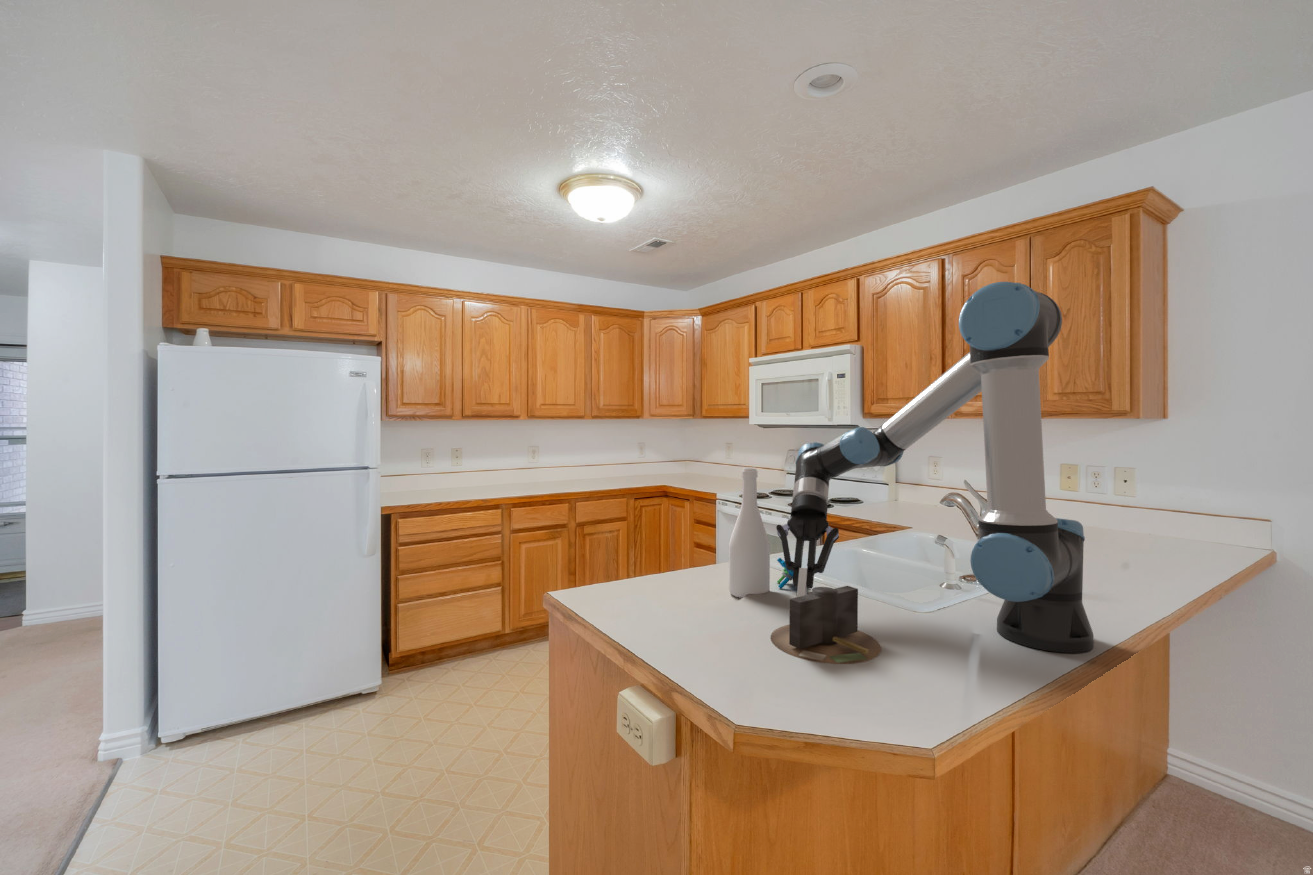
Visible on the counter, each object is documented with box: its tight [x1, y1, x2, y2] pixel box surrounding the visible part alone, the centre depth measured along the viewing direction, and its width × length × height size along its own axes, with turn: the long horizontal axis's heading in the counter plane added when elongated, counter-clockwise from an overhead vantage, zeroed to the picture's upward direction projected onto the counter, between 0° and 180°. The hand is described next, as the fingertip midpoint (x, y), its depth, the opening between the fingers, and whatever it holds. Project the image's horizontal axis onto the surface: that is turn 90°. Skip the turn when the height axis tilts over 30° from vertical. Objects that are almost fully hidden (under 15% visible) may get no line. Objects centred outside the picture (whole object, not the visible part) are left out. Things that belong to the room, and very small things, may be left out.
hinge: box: [788, 585, 868, 654], centre depth 99 cm, size 15×11×9 cm
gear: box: [776, 557, 809, 590], centre depth 140 cm, size 11×6×10 cm
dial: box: [770, 624, 882, 665], centre depth 102 cm, size 19×19×2 cm
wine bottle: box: [728, 467, 771, 599], centre depth 135 cm, size 10×10×30 cm
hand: (801, 601), depth 109 cm, fingers closed
